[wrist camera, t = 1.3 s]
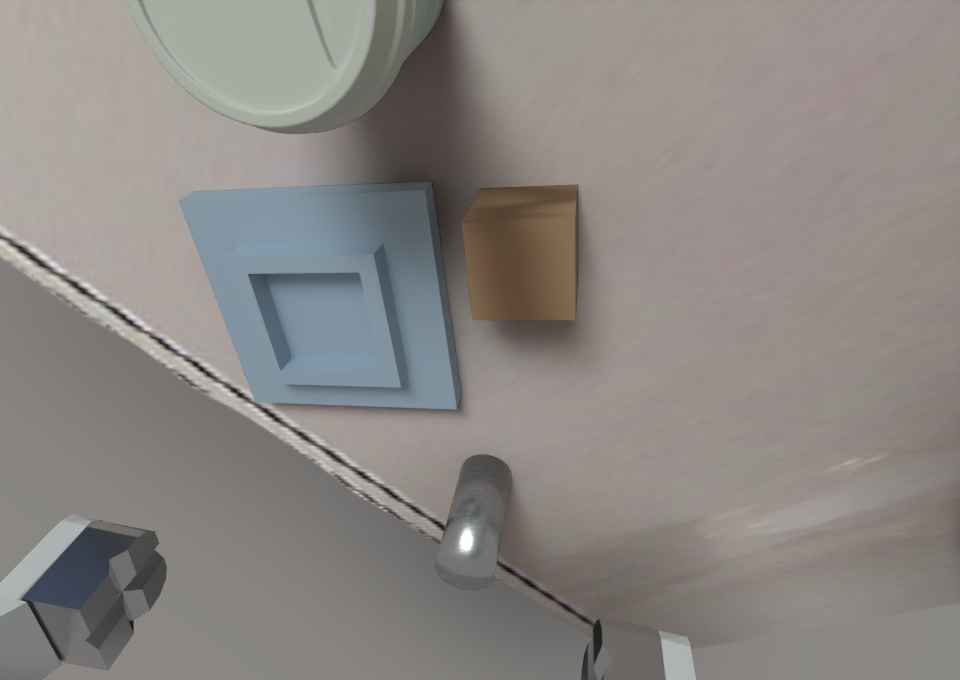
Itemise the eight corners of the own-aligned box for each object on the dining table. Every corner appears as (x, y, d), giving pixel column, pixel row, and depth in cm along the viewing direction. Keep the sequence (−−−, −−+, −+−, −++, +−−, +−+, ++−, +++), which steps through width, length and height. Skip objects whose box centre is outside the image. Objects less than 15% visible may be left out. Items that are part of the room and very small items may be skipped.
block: (577, 184, 29) (574, 219, 24) (578, 274, 31) (575, 320, 27) (480, 188, 30) (461, 223, 25) (488, 275, 32) (472, 319, 28)
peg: (509, 455, 39) (491, 553, 33) (512, 492, 41) (496, 592, 34) (458, 453, 40) (431, 548, 33) (464, 489, 42) (439, 586, 35)
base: (431, 181, 30) (416, 200, 27) (461, 395, 37) (451, 425, 35) (194, 191, 32) (161, 209, 30) (266, 388, 40) (244, 416, 37)
